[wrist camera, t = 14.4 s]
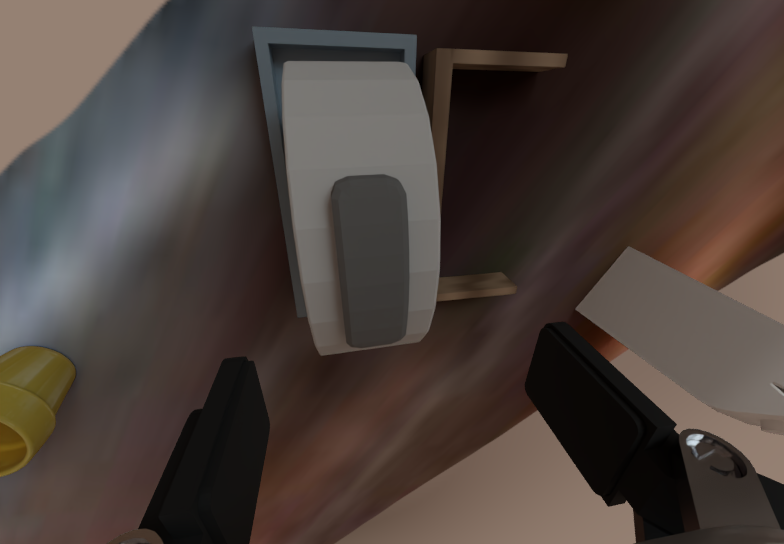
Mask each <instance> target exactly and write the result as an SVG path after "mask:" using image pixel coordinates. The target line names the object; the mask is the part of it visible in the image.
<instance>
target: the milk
mask: <svg viewBox="0 0 784 544" xmlns="http://www.w3.org/2000/svg"><path fill="white" fill-rule="evenodd" d="M575 310H577V311H578V312H580V313H581V314H582V315H584V316H585V317H586V318H588V319H589V320H590V321H592V322H593V323H595V324H596V325H597V326H599V327H600V328H601V329H603V330H604V331H605V332H607V333H608V334H609V335H611V336H612V337H614V338H615V339H616V340H618V341H619V342H620V343H622V344H623V345H624V346H626V347H627V348H629V349H630V350H632V351H633V352H634V353H635V354H637V355H638V356H640V357H641V358H642V359H644V360H645V361H646V362H648V363H649V364H650V365H652V366H653V367H654V368H656V369H657V370H659V371H660V372H661V373H663V374H664V375H665V376H667V377H668V378H670V379H671V380H672V381H674V382H675V383H676V384H678V385H679V386H680V387H682V388H683V389H685V390H686V391H687V392H689V393H690V394H691V395H693V396H694V397H695V398H697V399H698V400H700V401H701V402H703V403H705V404H706V405H708V406H709V407H711V408H712V409H714V410H716V411H717V412H720V413H722V414H725V415H727V416H730V417H732V418H735V419H737V420H740V421H742V422H745V423H747V424H751V425H756V426H761V430H762V431H765V432H769V433H774V434H779V435H784V325H783V324H781V323H779V322H777V321H775V320H773V319H771V318H769V317H767V316H765V315H763V314H761V313H759V312H757V311H755V310H754V309H752V308H749V307H747V306H746V305H744V304H742V303H740V302H738V301H735V300H734V299H732V298H730V297H728V296H726V295H724V294H722V293H720V292H718V291H716V290H714V289H712V288H710V287H708V286H706V285H704V284H702V283H700V282H698V281H696V280H694V279H692V278H690V277H688V276H686V275H684V274H683V273H681V272H679V271H677V270H675V269H673V268H671V267H669V266H667V265H665V264H663V263H661V262H659V261H657V260H655V259H653V258H651V257H649V256H647V255H645V254H643V253H641V252H639V251H637V250H635V249H633V248H631V247H629V246H628V247H627V248H626V250H625V251H624V252H623V253H622V254H621V255H620V257H619V258H618V259H617V260H616V261H615V263H614V264H613V265H612V266H611V267H610V268H609V270H608V271H607V272H606V273H605V274H604V276H603V277H602V278H601V279H600V280H599V281H598V283H597V284H596V285H595V286H594V287H593V288H592V290H591V291H590V292H589V293H588V294H587V296H586V297H585V298H584V299H583V300H582V301H581V303H580V304H579V305H578V306H577V307H576V309H575Z"/></svg>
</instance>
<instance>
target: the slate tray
mask: <svg viewBox="0 0 784 544" xmlns="http://www.w3.org/2000/svg"><path fill="white" fill-rule="evenodd" d="M252 31H253V37H254V44H255V50H256V57H257V63H258V69H259V76H260V82H261V88H262V95H263V101H264V107H265V114H266V120H267V127H268V133H269V139H270V146H271V152H272V158H273V165H274V171H275V177H276V184H277V190H278V196H279V203H280V209H281V216H282V222H283V228H284V235H285V241H286V247H287V254H288V260H289V266H290V273H291V279H292V286H293V292H294V298H295V305H296V311H297V317H298V318H300V317H307V312H306V307H305V301H304V296H303V291H302V286H301V280H300V274H299V267H298V260H297V254H296V247H295V241H294V234H293V226H292V218H291V209H290V200H289V192H288V183H287V174H286V162H285V149H284V137H283V124H282V87H281V84H282V74H283V65H284V63H285V62H287V61H369V62H403V63H406V64H408V66H409V67H410V69H411V70H412V72H413V74H414V75H415V72H416V44H417V35H409V34H390V33H370V32H350V31H331V30H311V29H292V28H272V27H253V26H252Z"/></svg>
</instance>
